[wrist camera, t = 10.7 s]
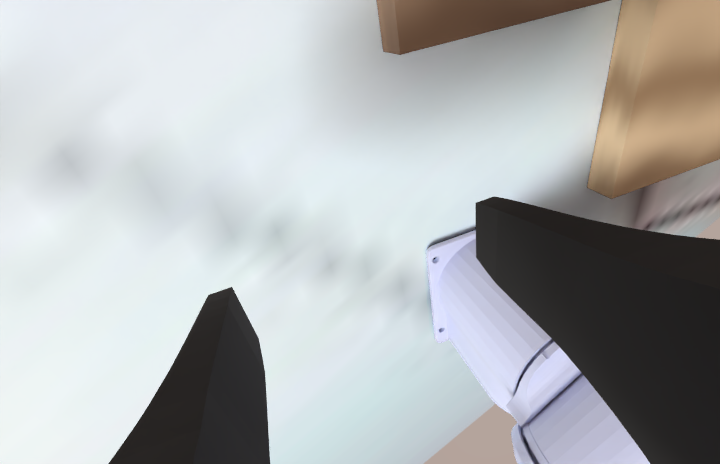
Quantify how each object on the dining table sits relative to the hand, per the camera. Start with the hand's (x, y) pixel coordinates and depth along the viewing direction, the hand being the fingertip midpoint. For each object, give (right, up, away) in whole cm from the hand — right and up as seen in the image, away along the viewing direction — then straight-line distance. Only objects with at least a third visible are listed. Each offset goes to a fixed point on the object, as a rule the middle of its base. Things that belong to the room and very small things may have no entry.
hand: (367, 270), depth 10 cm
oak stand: (+21, +11, +13) cm, 27 cm away
